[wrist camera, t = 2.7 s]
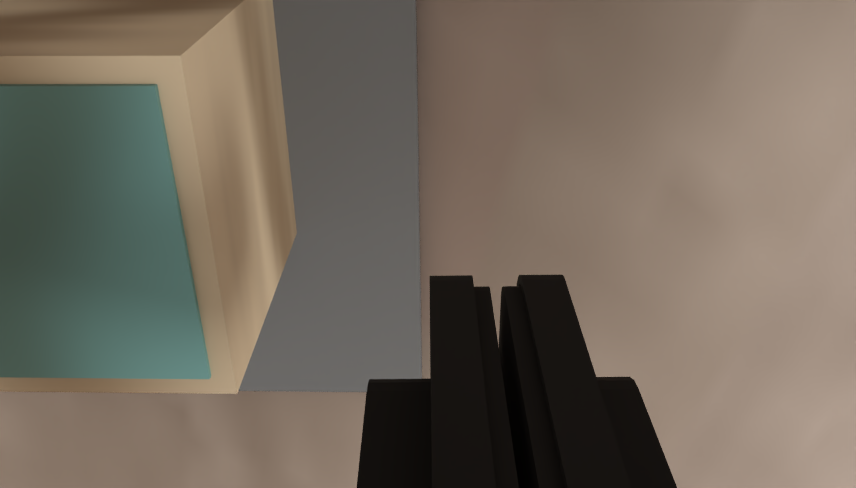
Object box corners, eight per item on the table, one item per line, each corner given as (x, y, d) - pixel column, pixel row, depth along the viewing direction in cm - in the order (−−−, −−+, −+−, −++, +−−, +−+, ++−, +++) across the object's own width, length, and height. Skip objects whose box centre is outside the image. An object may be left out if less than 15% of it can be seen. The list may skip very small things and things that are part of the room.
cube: (270, -23, 16) (178, 57, 10) (296, 232, 19) (236, 397, 13) (-16, -21, 16) (-250, 58, 11) (55, 231, 19) (-101, 394, 13)
